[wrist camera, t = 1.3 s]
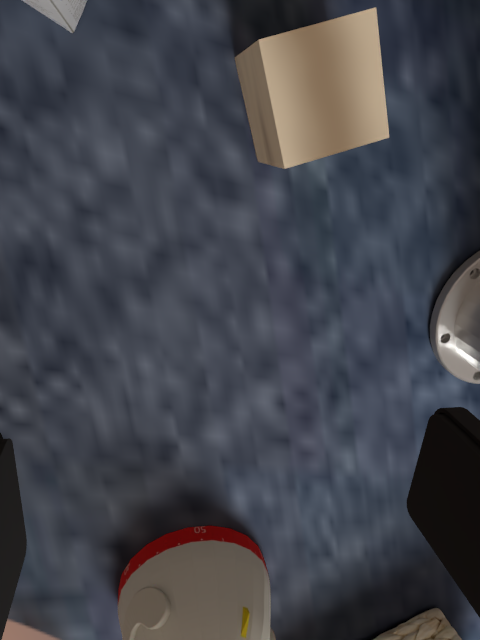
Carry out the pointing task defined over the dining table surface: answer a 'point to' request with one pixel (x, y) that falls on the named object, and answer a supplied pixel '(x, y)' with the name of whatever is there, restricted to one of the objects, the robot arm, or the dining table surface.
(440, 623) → the storage basket
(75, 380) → the dining table surface
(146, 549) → the kitchen timer
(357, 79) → the maple block
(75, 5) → the light bulb box
